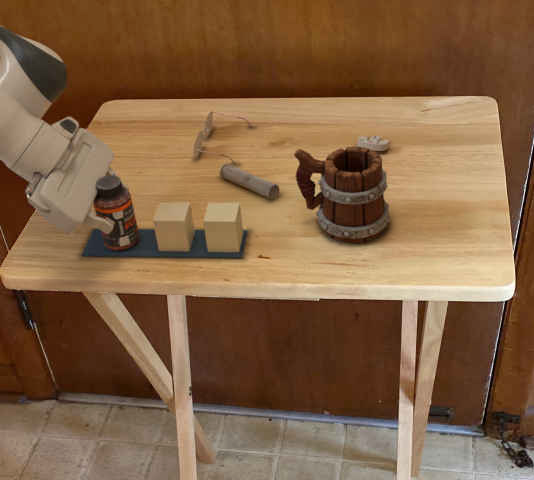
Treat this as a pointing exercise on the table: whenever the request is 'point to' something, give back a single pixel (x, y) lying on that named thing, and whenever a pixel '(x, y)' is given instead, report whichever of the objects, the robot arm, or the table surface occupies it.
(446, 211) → the table surface
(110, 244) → the supplement bottle
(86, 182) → the robot arm
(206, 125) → the eyeglasses
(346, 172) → the mug
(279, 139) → the table surface
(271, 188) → the rod
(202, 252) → the line strip
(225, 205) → the cream block
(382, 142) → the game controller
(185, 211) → the cream block
